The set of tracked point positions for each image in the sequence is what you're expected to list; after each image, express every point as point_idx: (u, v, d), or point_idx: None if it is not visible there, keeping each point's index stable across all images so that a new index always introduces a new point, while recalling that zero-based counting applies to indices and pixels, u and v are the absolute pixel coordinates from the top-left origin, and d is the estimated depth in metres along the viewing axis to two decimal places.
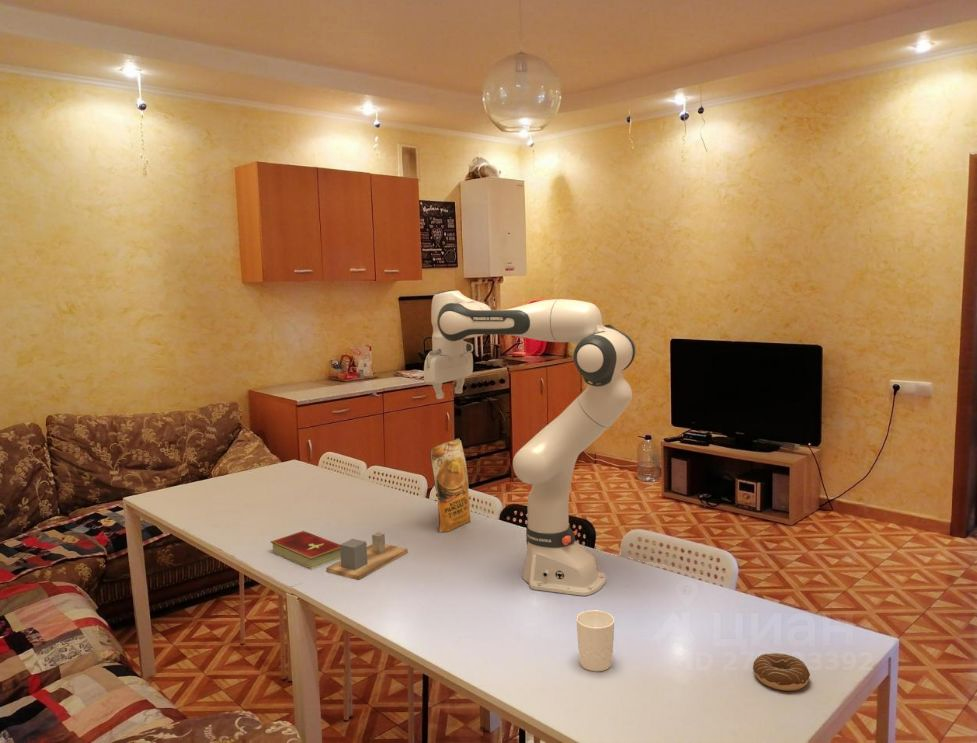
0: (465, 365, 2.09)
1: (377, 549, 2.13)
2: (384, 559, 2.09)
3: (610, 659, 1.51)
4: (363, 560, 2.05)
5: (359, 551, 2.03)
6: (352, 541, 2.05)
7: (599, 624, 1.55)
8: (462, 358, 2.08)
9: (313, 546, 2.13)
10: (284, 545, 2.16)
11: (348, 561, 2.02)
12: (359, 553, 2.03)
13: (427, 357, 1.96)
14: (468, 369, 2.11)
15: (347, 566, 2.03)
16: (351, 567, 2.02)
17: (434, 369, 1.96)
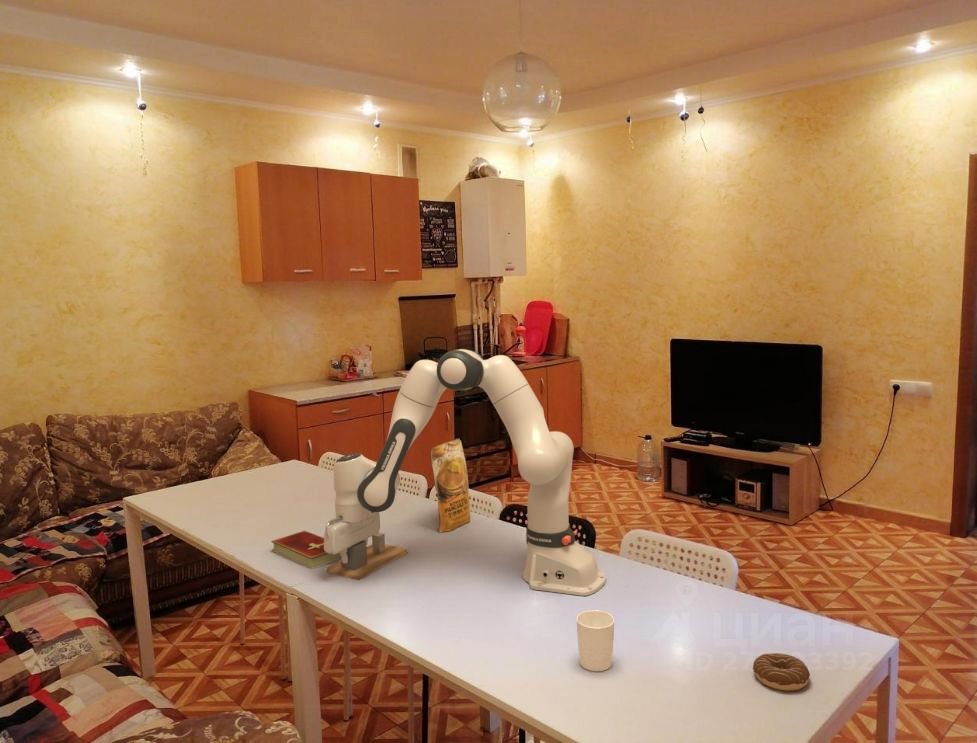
0: (371, 525, 2.08)
1: (377, 549, 2.13)
2: (384, 559, 2.09)
3: (610, 659, 1.51)
4: (363, 560, 2.05)
5: (359, 551, 2.03)
6: None
7: (599, 624, 1.55)
8: (367, 519, 2.06)
9: (314, 546, 2.14)
10: (285, 545, 2.16)
11: None
12: (359, 553, 2.03)
13: (327, 527, 1.94)
14: (374, 527, 2.09)
15: (347, 566, 2.03)
16: (351, 567, 2.02)
17: (333, 539, 1.95)
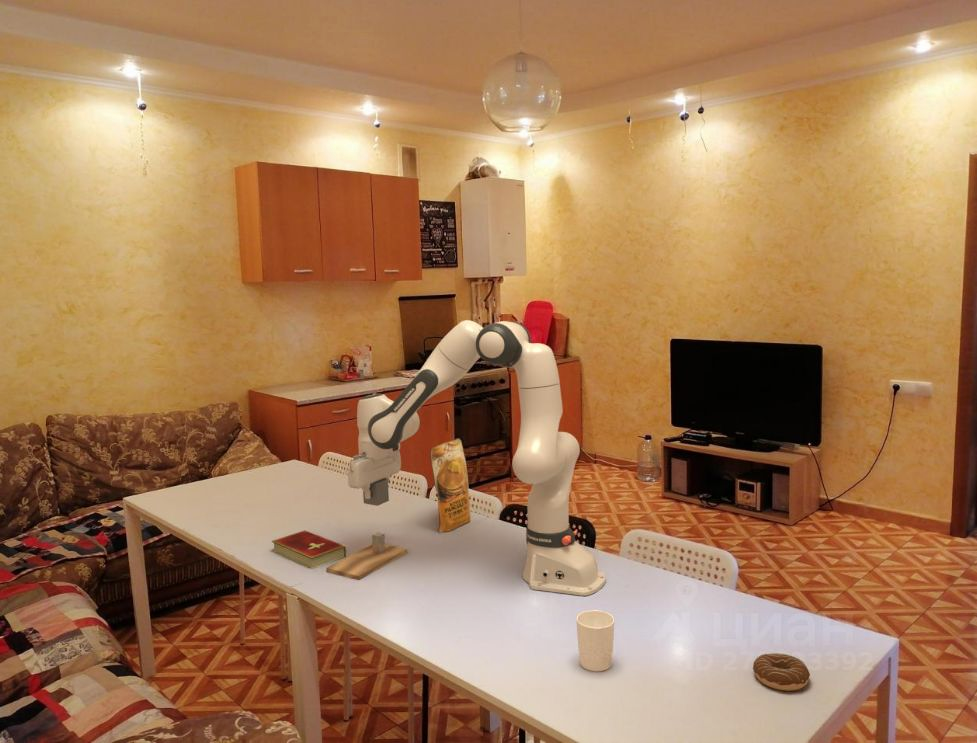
0: (392, 463, 2.15)
1: (377, 549, 2.13)
2: (384, 559, 2.09)
3: (610, 659, 1.51)
4: (385, 496, 2.12)
5: (381, 487, 2.10)
6: None
7: (599, 624, 1.55)
8: (389, 457, 2.13)
9: (314, 546, 2.14)
10: (285, 544, 2.16)
11: None
12: (381, 489, 2.10)
13: (351, 462, 2.02)
14: (395, 467, 2.16)
15: (369, 502, 2.10)
16: (373, 503, 2.09)
17: (357, 474, 2.02)
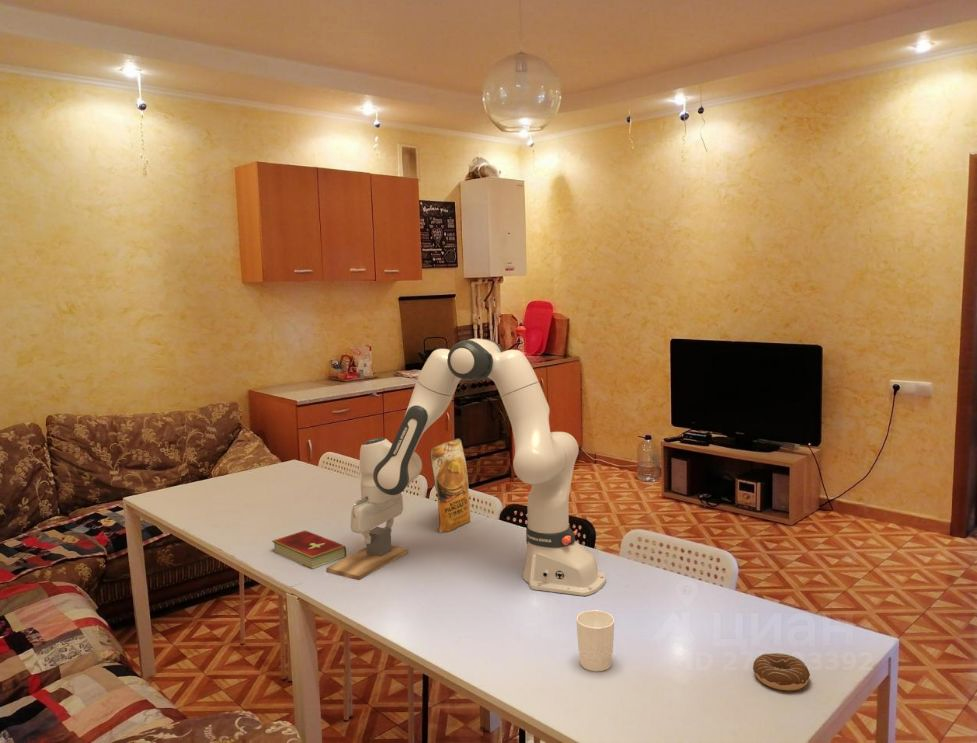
0: (394, 506, 2.17)
1: None
2: (384, 559, 2.09)
3: (610, 659, 1.51)
4: (388, 547, 2.14)
5: (384, 538, 2.12)
6: (377, 529, 2.15)
7: (599, 624, 1.55)
8: (391, 500, 2.15)
9: (314, 545, 2.14)
10: (285, 544, 2.16)
11: (373, 548, 2.12)
12: (384, 540, 2.12)
13: (353, 508, 2.03)
14: (397, 509, 2.18)
15: (372, 552, 2.12)
16: (376, 553, 2.12)
17: (360, 519, 2.04)
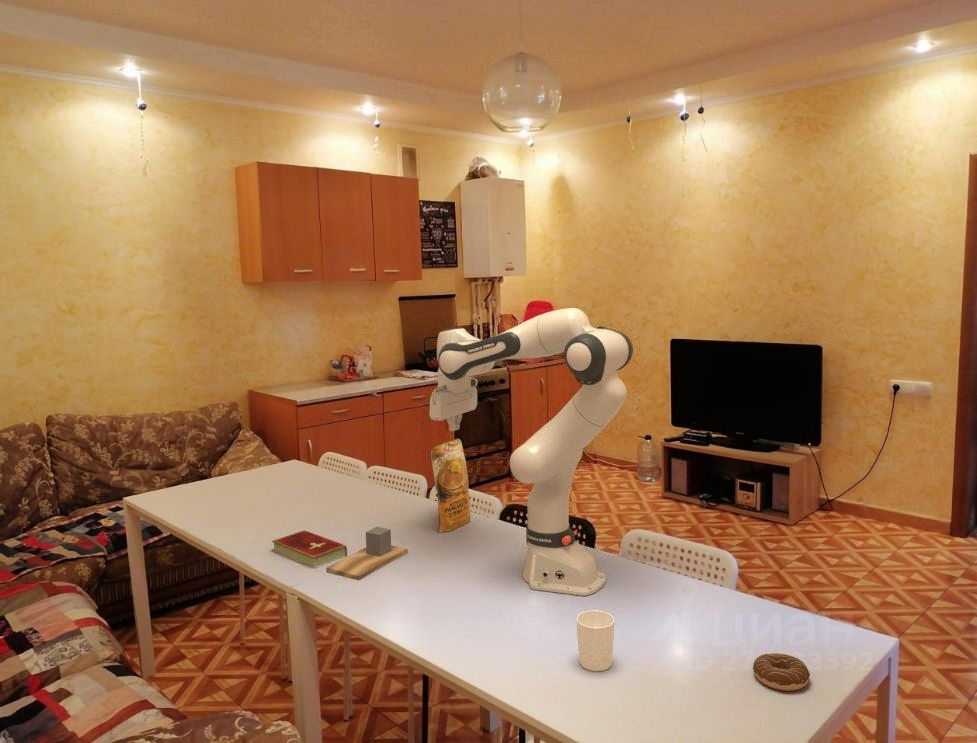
0: (470, 399, 2.15)
1: None
2: (384, 559, 2.09)
3: (610, 659, 1.51)
4: (388, 547, 2.14)
5: (384, 538, 2.12)
6: (377, 529, 2.15)
7: (599, 624, 1.55)
8: (467, 393, 2.13)
9: (315, 545, 2.14)
10: (286, 544, 2.16)
11: (373, 548, 2.12)
12: (384, 540, 2.12)
13: (433, 394, 2.01)
14: (472, 403, 2.16)
15: (372, 552, 2.12)
16: (376, 553, 2.12)
17: (439, 405, 2.02)
